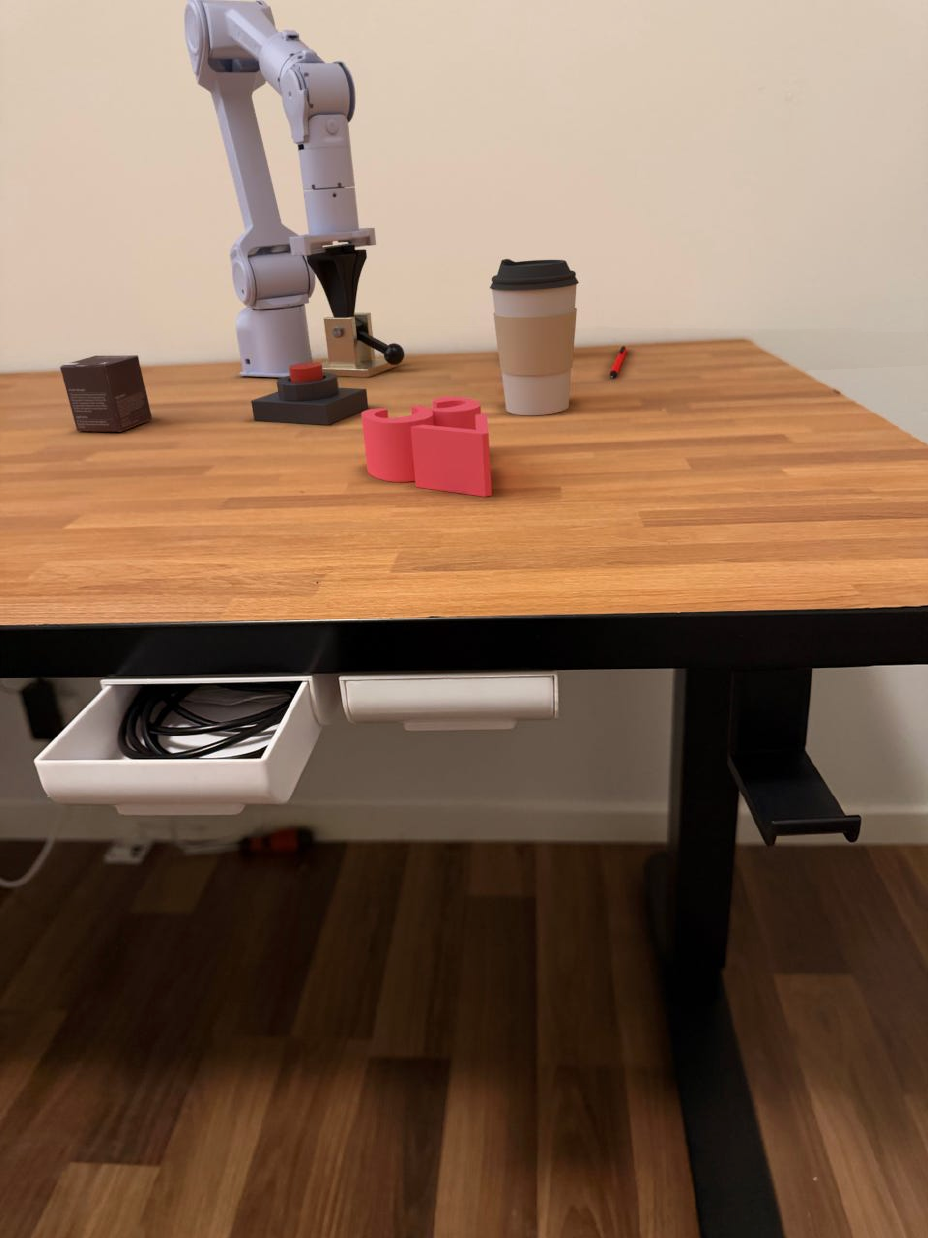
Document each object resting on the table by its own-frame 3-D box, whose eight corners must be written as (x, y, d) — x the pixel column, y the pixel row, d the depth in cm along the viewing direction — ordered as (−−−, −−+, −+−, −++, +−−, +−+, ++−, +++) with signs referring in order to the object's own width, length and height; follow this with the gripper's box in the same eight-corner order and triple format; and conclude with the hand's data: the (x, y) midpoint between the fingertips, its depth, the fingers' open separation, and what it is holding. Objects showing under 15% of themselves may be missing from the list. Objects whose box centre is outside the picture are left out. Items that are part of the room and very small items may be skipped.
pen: (627, 352, 125) (627, 344, 124) (615, 380, 108) (616, 371, 107) (620, 352, 125) (621, 344, 124) (608, 380, 108) (608, 371, 108)
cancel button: (284, 384, 98) (282, 368, 98) (303, 377, 101) (301, 361, 101) (311, 385, 97) (309, 368, 96) (330, 378, 100) (328, 362, 99)
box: (154, 420, 103) (140, 354, 100) (119, 433, 98) (104, 364, 95) (110, 419, 105) (95, 354, 102) (75, 432, 100) (58, 364, 97)
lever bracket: (399, 365, 125) (394, 310, 122) (368, 377, 119) (362, 319, 116) (339, 363, 129) (333, 310, 126) (306, 374, 123) (299, 319, 120)
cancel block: (254, 420, 100) (248, 383, 98) (296, 404, 106) (291, 369, 104) (328, 425, 95) (323, 387, 94) (368, 408, 102) (364, 372, 100)
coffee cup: (590, 399, 99) (590, 252, 92) (563, 419, 91) (561, 261, 85) (514, 397, 102) (508, 255, 96) (482, 415, 95) (474, 264, 88)
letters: (541, 484, 72) (540, 422, 70) (428, 510, 68) (422, 445, 66) (461, 448, 84) (457, 394, 82) (359, 468, 80) (353, 411, 78)
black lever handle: (404, 366, 122) (410, 347, 120) (394, 370, 120) (400, 350, 118) (343, 332, 124) (348, 313, 122) (332, 335, 122) (337, 316, 120)
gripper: (322, 188, 92) (338, 326, 98) (393, 184, 104) (403, 308, 109) (266, 192, 95) (286, 326, 101) (341, 188, 107) (355, 308, 112)
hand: (343, 317), depth 105 cm, fingers closed
